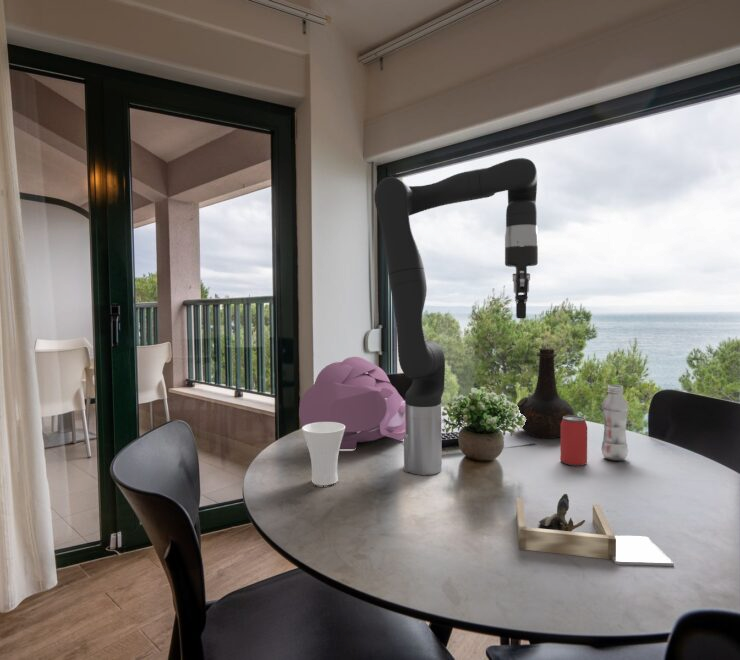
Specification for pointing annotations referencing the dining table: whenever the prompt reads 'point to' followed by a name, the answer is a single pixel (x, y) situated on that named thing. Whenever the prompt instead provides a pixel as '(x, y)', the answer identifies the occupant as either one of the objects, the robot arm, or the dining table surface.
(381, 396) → the purple rounded folded piece
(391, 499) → the dining table surface
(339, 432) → the cup
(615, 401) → the plastic bottle
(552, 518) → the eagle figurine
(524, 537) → the frame
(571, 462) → the beer can
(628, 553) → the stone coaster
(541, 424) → the glass bottle
